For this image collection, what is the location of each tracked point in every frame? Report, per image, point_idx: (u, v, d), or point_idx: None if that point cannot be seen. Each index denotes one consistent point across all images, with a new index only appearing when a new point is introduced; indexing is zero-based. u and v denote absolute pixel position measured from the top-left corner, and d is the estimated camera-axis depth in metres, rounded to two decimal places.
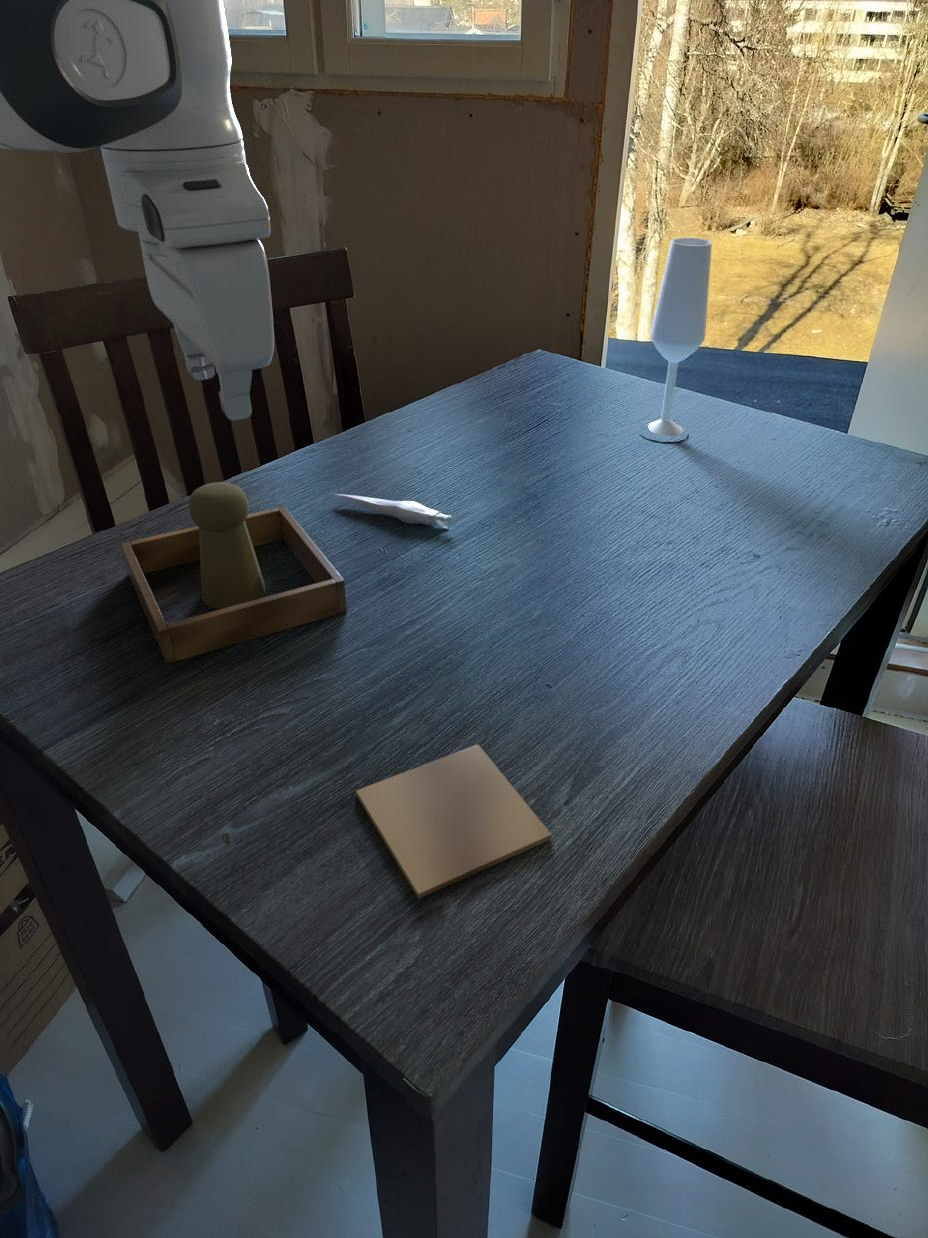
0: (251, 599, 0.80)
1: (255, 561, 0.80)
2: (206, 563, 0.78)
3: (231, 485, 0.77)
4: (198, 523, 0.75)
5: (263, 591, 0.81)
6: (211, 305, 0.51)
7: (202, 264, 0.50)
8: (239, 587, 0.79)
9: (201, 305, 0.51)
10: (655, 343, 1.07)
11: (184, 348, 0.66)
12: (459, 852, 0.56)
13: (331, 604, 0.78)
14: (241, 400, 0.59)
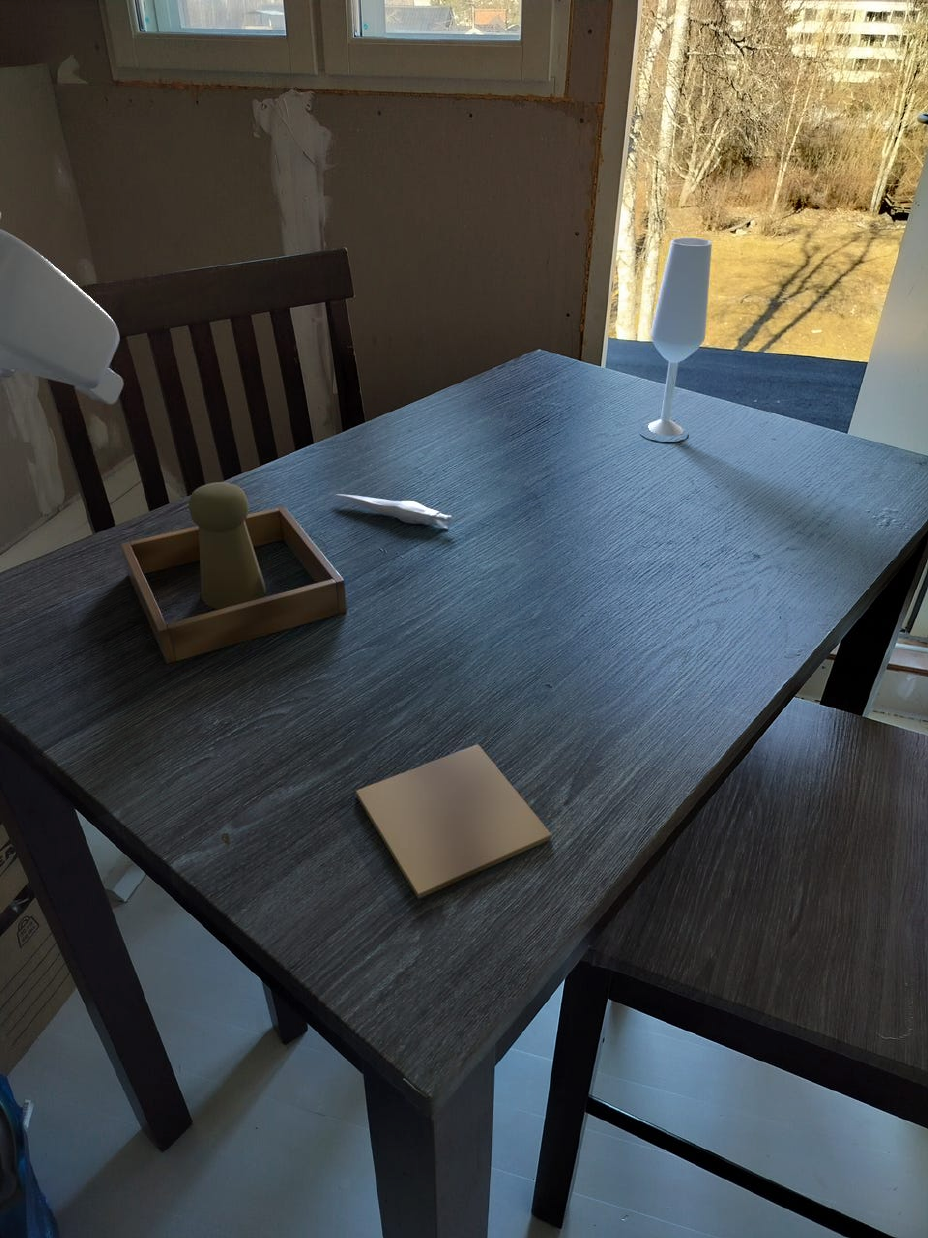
0: (251, 599, 0.80)
1: (255, 561, 0.80)
2: (206, 563, 0.78)
3: (231, 485, 0.77)
4: (198, 523, 0.75)
5: (263, 591, 0.81)
6: (36, 346, 0.41)
7: None
8: (239, 587, 0.79)
9: (28, 355, 0.41)
10: (655, 343, 1.07)
11: None
12: (459, 852, 0.56)
13: (331, 604, 0.78)
14: (105, 378, 0.49)
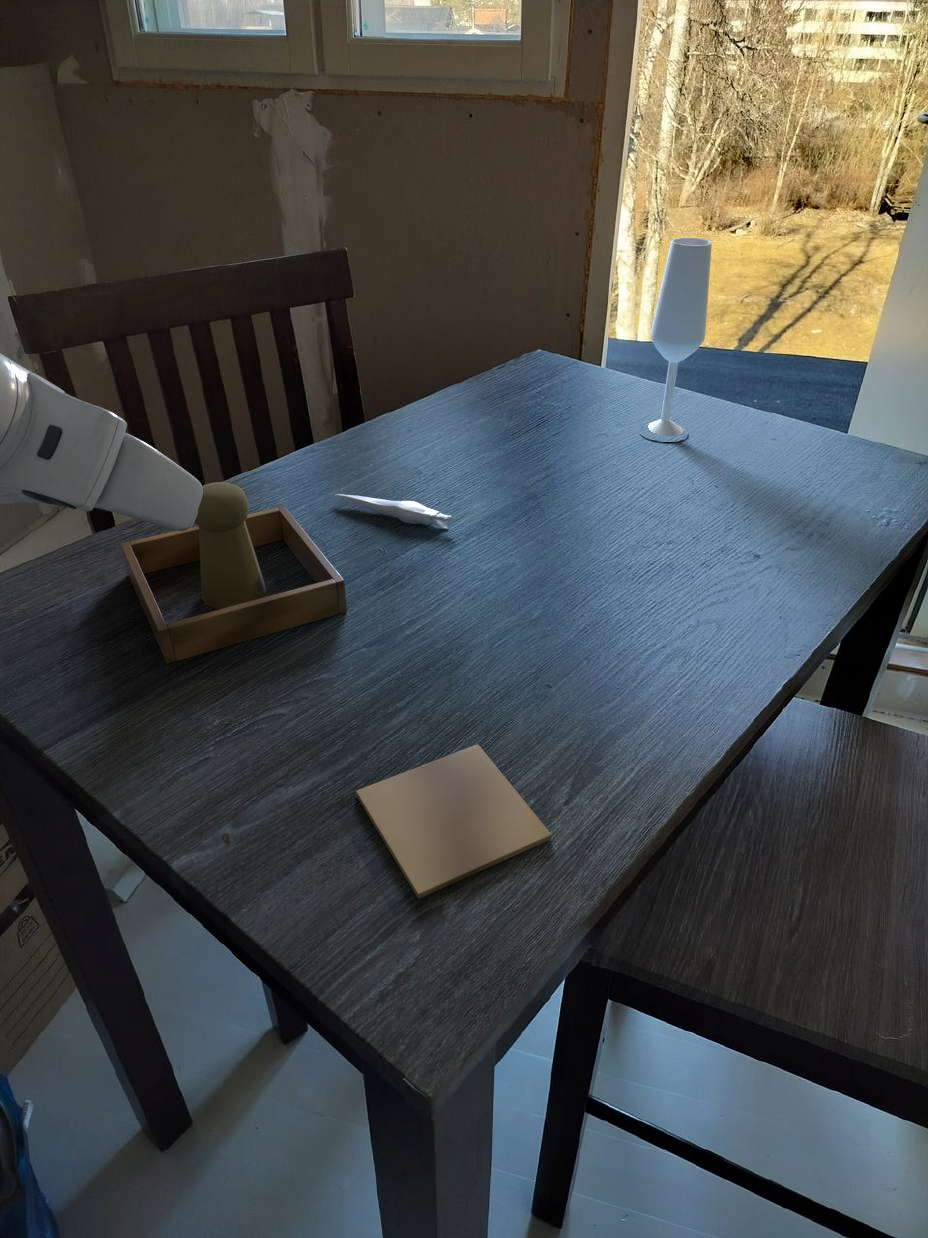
0: (251, 599, 0.80)
1: (255, 561, 0.80)
2: (206, 563, 0.78)
3: (231, 485, 0.77)
4: (198, 523, 0.75)
5: (263, 591, 0.81)
6: (150, 512, 0.56)
7: (120, 497, 0.55)
8: (239, 587, 0.79)
9: (145, 519, 0.56)
10: (655, 343, 1.07)
11: None
12: (459, 852, 0.56)
13: (331, 604, 0.78)
14: None
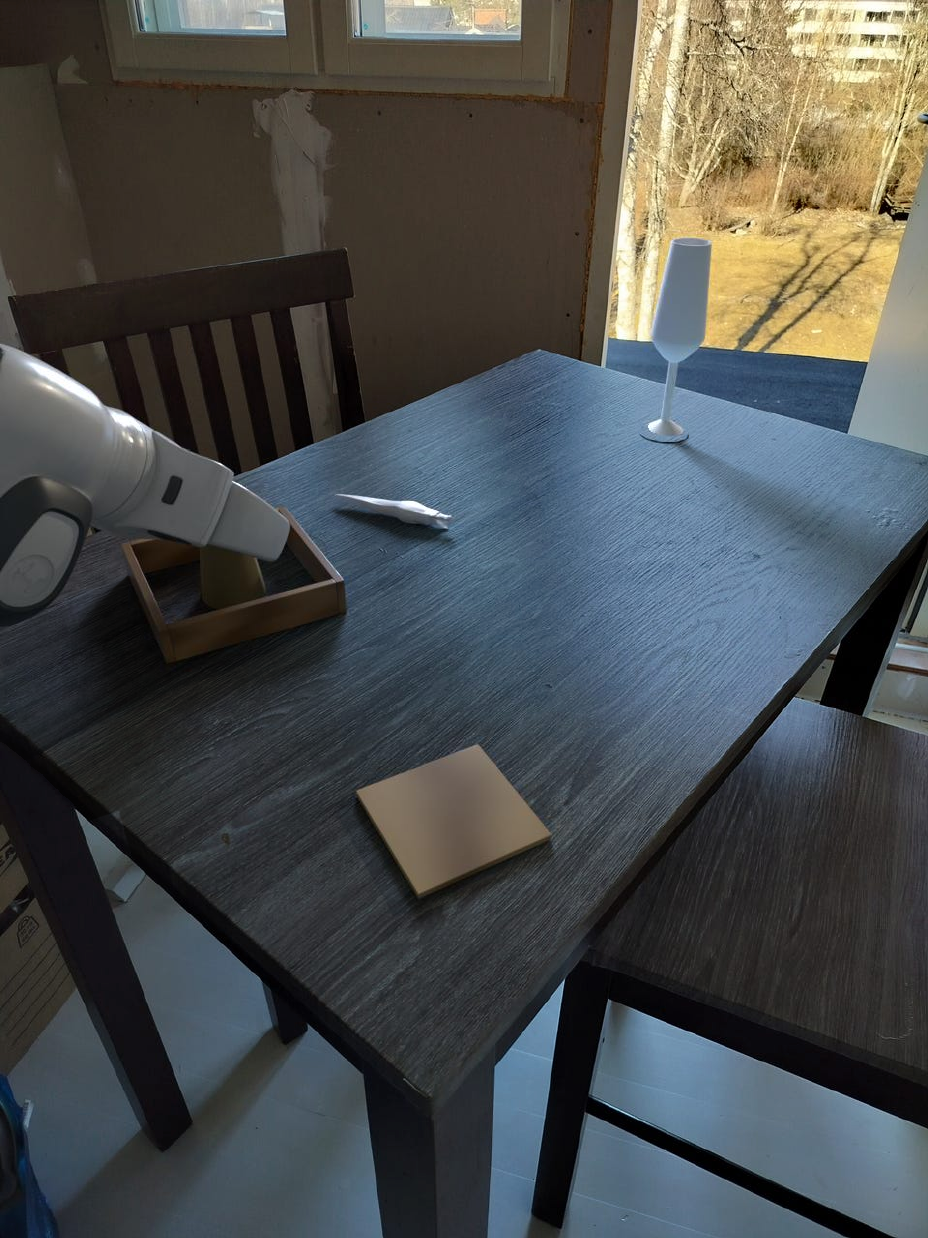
0: (250, 599, 0.80)
1: (255, 561, 0.80)
2: (206, 563, 0.78)
3: None
4: None
5: (263, 591, 0.81)
6: (250, 547, 0.67)
7: (227, 535, 0.65)
8: (238, 587, 0.79)
9: (245, 553, 0.67)
10: (655, 343, 1.07)
11: None
12: (459, 852, 0.56)
13: (331, 604, 0.78)
14: None
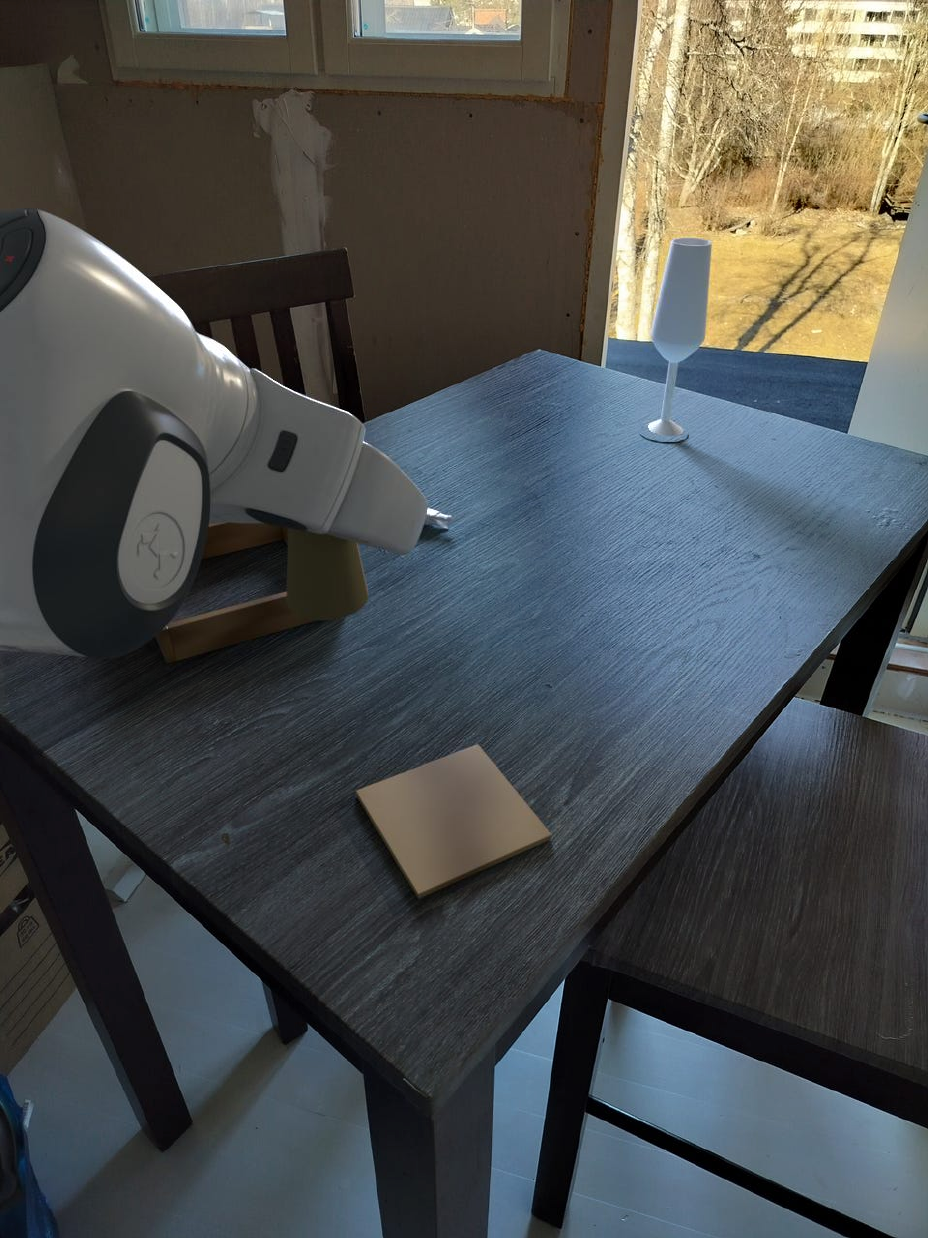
0: (353, 606, 0.61)
1: (359, 556, 0.61)
2: (297, 559, 0.59)
3: None
4: None
5: (367, 596, 0.62)
6: (383, 534, 0.48)
7: (356, 517, 0.46)
8: (339, 590, 0.60)
9: (376, 542, 0.48)
10: (655, 343, 1.07)
11: None
12: (459, 852, 0.56)
13: None
14: None
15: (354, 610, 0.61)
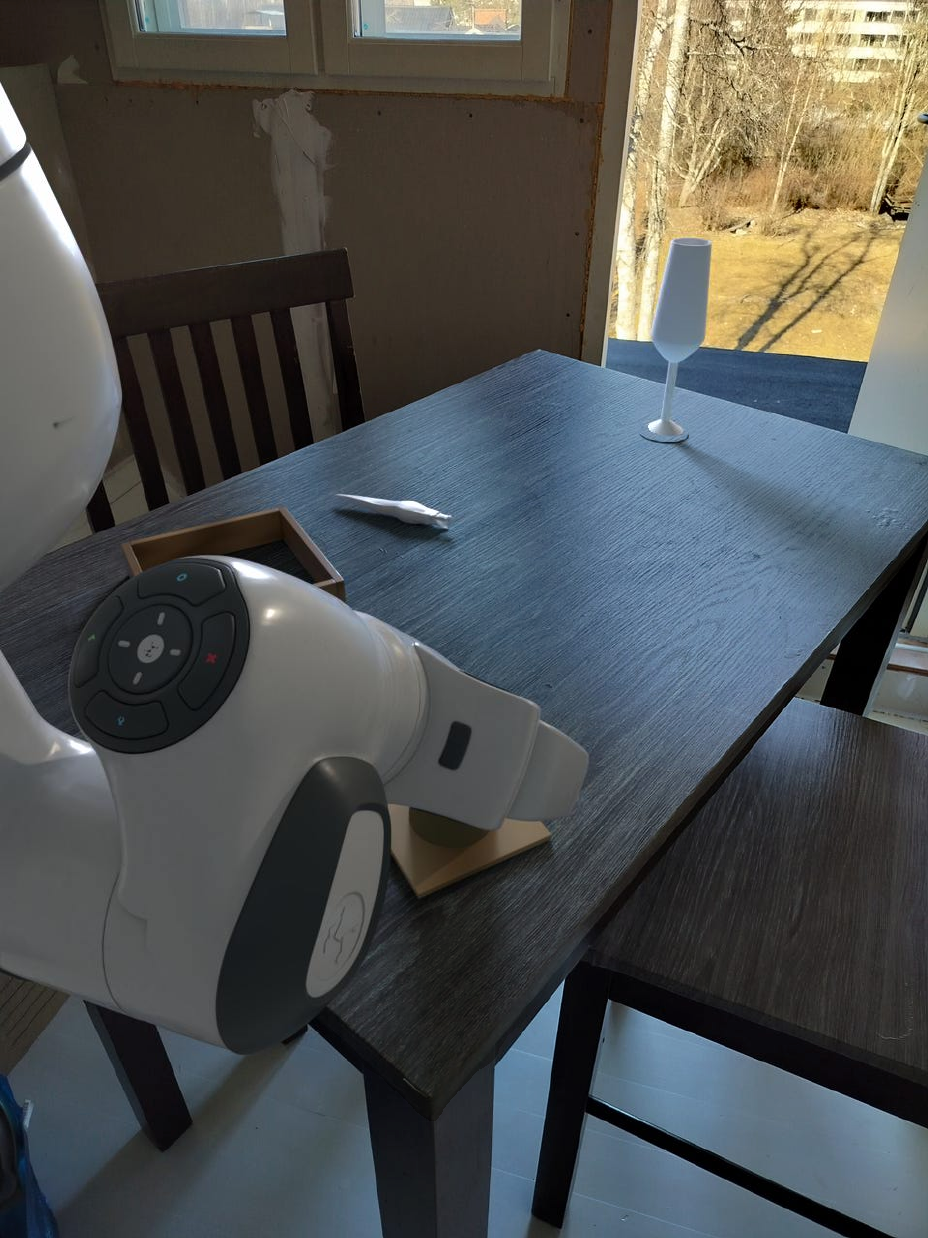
0: (484, 830, 0.56)
1: None
2: None
3: None
4: None
5: None
6: (551, 812, 0.43)
7: (527, 804, 0.41)
8: None
9: None
10: (655, 343, 1.07)
11: None
12: (459, 852, 0.56)
13: None
14: None
15: (484, 834, 0.57)
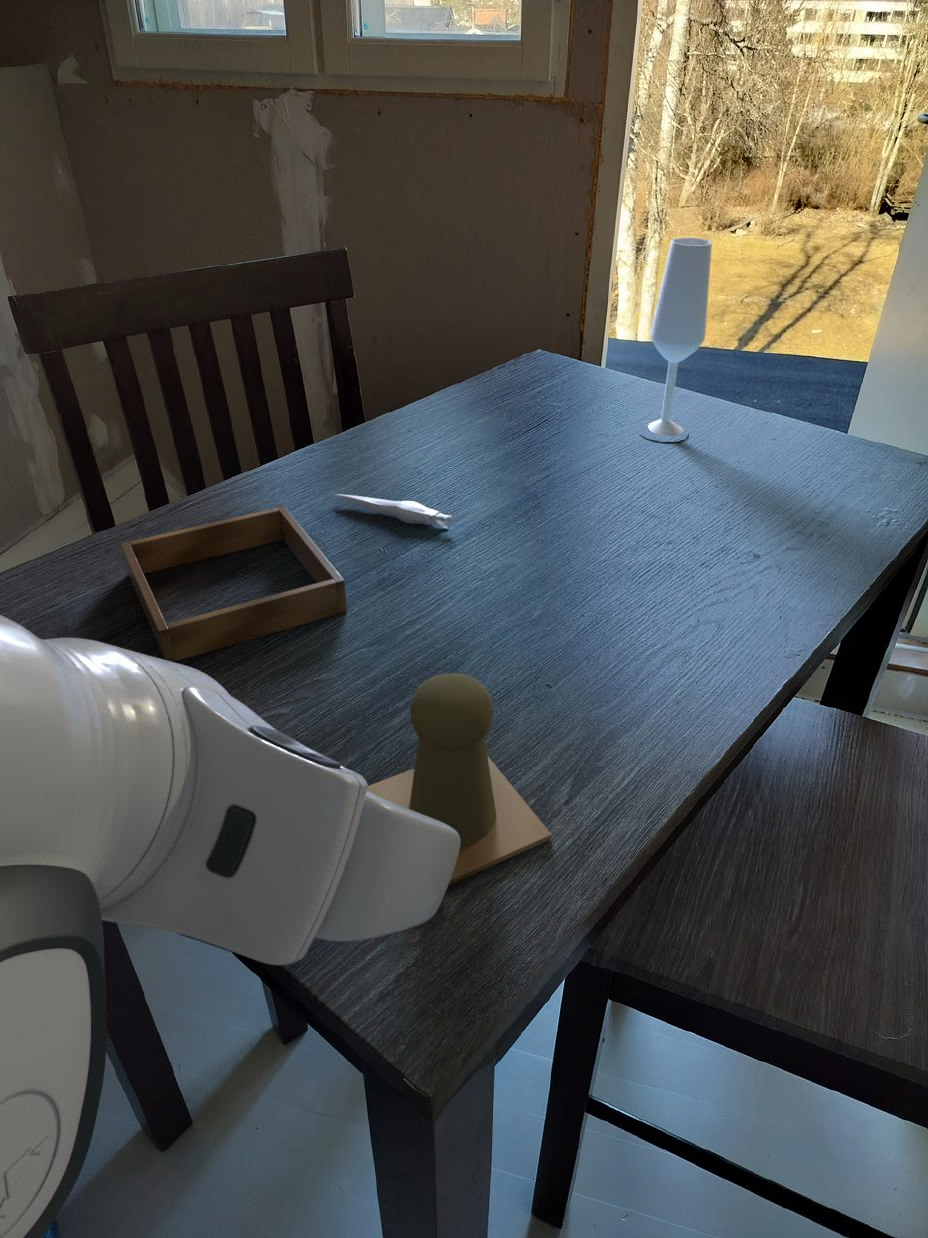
0: (484, 830, 0.56)
1: (490, 777, 0.56)
2: (428, 788, 0.54)
3: (470, 681, 0.53)
4: (428, 741, 0.52)
5: (495, 813, 0.58)
6: (393, 923, 0.31)
7: (350, 919, 0.29)
8: (472, 818, 0.55)
9: None
10: (655, 343, 1.07)
11: None
12: (459, 852, 0.56)
13: (331, 604, 0.78)
14: None
15: (484, 834, 0.57)
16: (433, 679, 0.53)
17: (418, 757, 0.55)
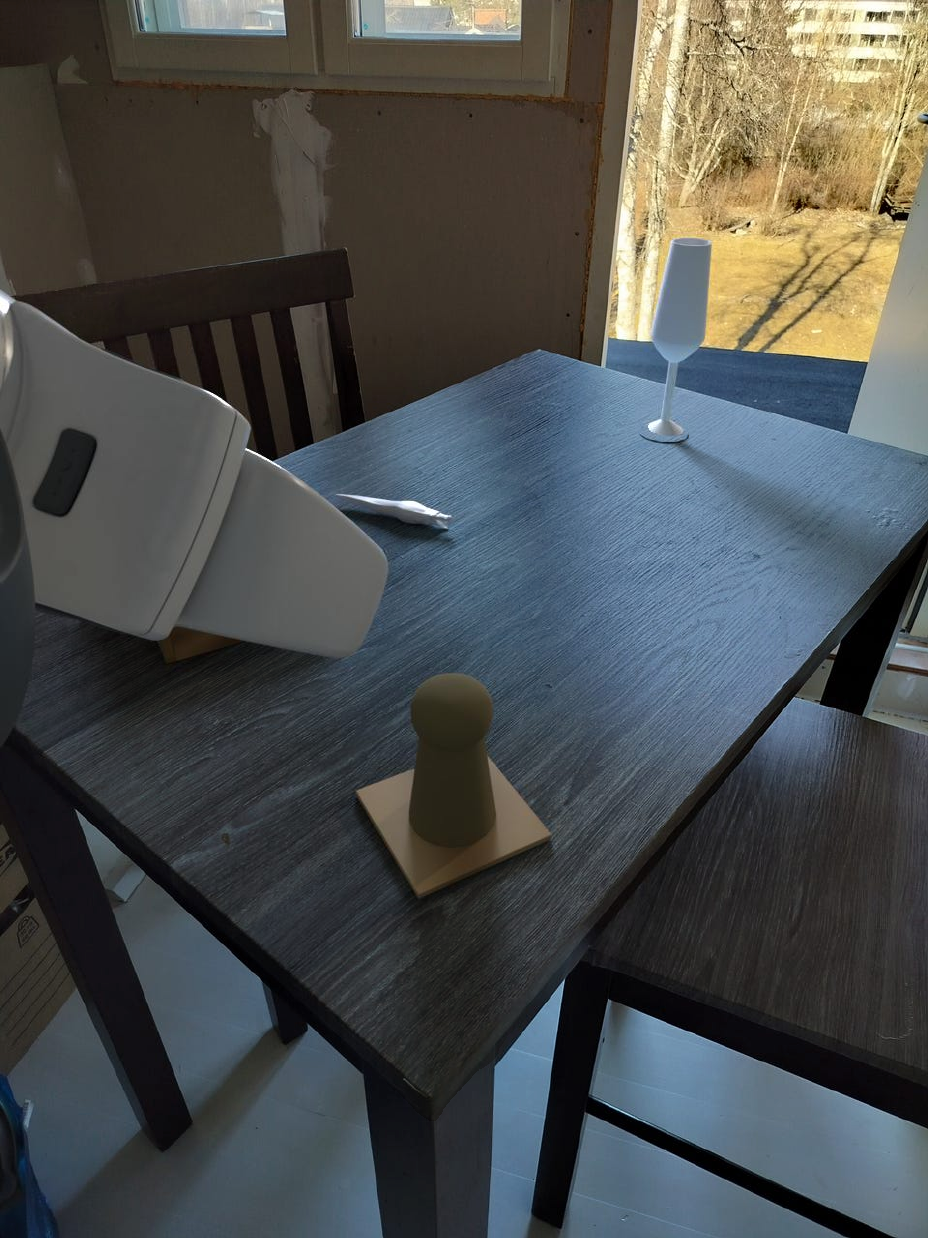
0: (484, 830, 0.56)
1: (490, 777, 0.56)
2: (428, 788, 0.54)
3: (470, 681, 0.53)
4: (428, 741, 0.52)
5: (495, 813, 0.58)
6: (294, 630, 0.24)
7: (232, 603, 0.23)
8: (472, 818, 0.55)
9: (282, 646, 0.24)
10: (655, 343, 1.07)
11: None
12: (459, 852, 0.56)
13: None
14: None
15: (484, 834, 0.57)
16: (433, 679, 0.53)
17: (418, 757, 0.55)
